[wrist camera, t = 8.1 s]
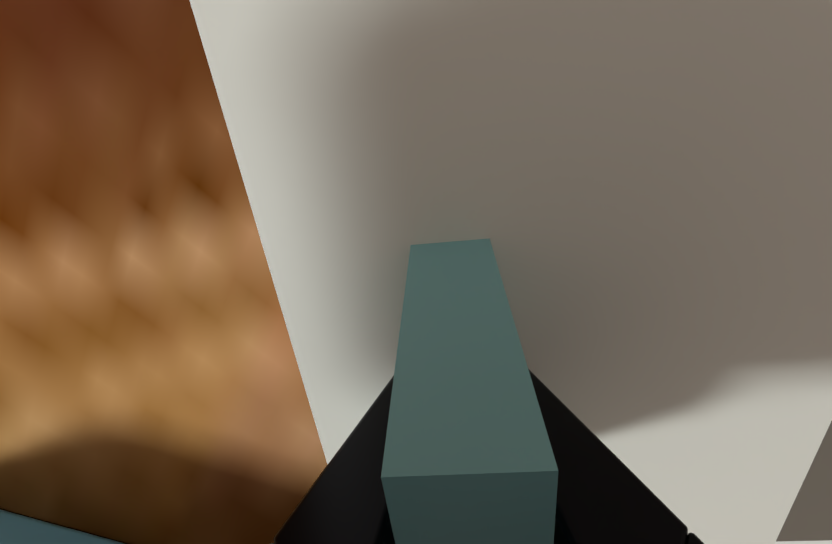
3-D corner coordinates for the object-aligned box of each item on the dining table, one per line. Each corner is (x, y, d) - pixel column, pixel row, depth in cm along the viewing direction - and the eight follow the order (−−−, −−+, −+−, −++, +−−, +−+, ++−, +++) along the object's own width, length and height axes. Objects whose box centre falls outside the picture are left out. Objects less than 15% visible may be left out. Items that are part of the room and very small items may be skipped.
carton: (951, 397, 15) (1181, 549, 10) (386, 424, 16) (367, 564, 12) (1323, -201, 8) (2490, -535, 3) (294, -50, 10) (171, -142, 5)
